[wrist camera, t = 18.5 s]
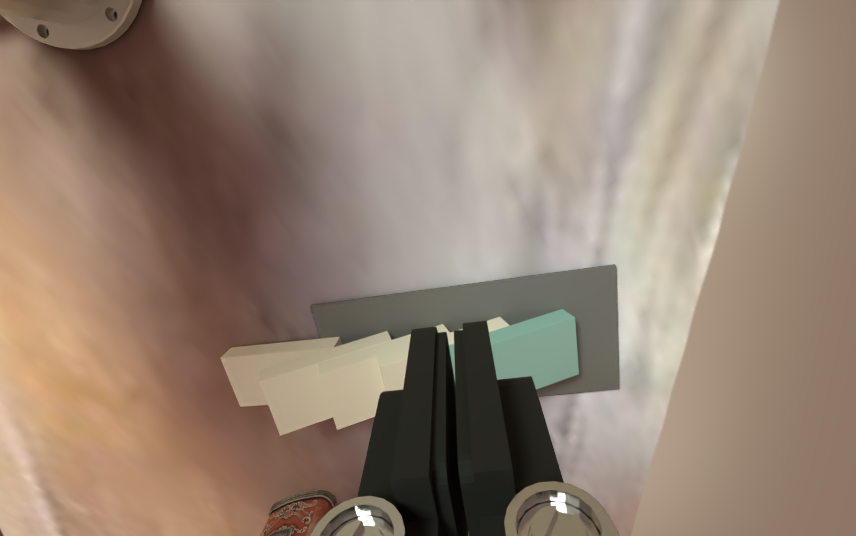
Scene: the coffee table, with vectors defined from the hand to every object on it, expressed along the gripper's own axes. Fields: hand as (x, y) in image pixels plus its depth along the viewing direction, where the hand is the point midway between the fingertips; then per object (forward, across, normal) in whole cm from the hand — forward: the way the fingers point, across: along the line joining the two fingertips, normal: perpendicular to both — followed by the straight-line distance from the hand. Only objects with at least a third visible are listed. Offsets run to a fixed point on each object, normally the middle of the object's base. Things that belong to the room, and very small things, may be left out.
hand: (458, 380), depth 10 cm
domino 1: (+24, +12, +16) cm, 31 cm away
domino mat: (+25, +1, +16) cm, 29 cm away
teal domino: (+23, -8, +15) cm, 29 cm away
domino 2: (+24, +7, +16) cm, 29 cm away
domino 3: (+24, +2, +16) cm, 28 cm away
